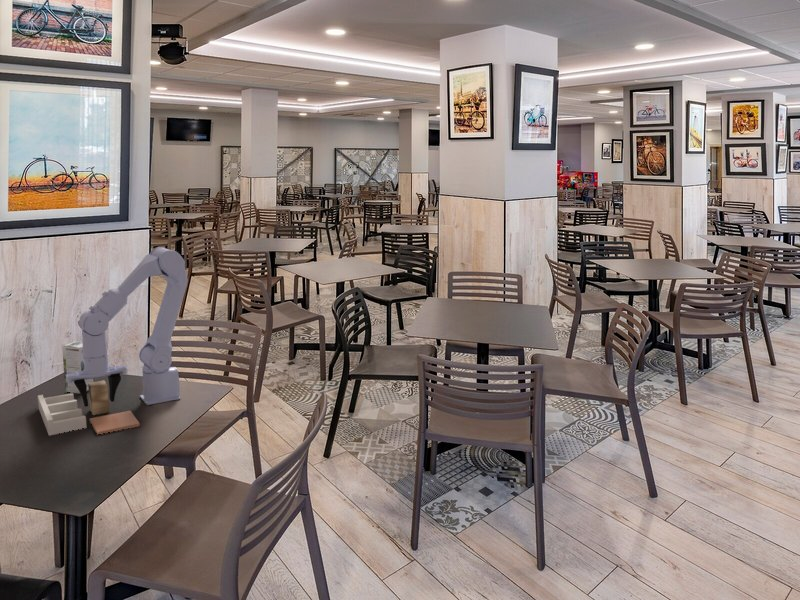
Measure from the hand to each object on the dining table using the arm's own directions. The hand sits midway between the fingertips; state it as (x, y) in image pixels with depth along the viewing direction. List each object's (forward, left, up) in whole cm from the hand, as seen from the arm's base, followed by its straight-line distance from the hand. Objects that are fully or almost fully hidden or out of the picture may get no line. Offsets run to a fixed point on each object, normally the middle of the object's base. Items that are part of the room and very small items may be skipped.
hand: (99, 402), depth 160 cm
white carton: (+2, -20, -3) cm, 20 cm away
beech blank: (0, 0, -2) cm, 2 cm away
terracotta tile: (-2, +11, -2) cm, 11 cm away
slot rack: (+9, 0, -2) cm, 9 cm away
